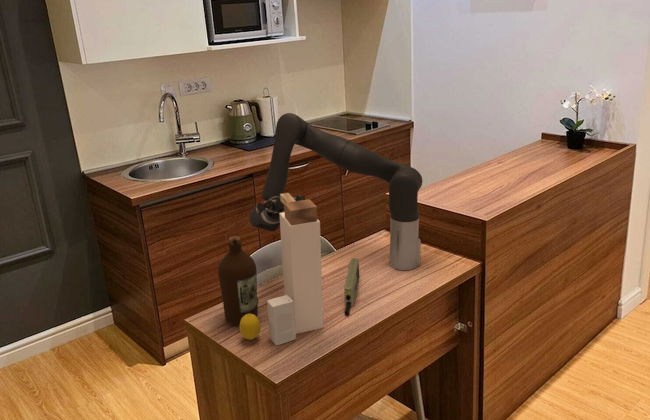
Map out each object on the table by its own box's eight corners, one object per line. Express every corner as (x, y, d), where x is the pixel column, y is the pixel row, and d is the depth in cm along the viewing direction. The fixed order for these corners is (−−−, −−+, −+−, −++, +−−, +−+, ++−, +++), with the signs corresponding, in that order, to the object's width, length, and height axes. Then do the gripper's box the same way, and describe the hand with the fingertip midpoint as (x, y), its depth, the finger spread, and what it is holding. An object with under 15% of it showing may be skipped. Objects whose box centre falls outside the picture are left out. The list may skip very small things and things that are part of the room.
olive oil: (215, 318, 166) (206, 239, 157) (243, 303, 174) (236, 227, 165) (240, 331, 160) (232, 250, 151) (267, 315, 167) (262, 236, 158)
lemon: (244, 347, 153) (241, 321, 150) (238, 336, 158) (235, 311, 155) (264, 342, 155) (262, 316, 152) (257, 331, 160) (255, 306, 157)
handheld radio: (360, 276, 188) (352, 317, 165) (350, 276, 189) (341, 317, 166) (359, 257, 186) (351, 297, 163) (349, 257, 187) (340, 296, 164)
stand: (311, 310, 169) (307, 208, 158) (323, 327, 160) (319, 221, 149) (285, 315, 167) (279, 212, 155) (295, 333, 158) (290, 226, 146)
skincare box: (289, 332, 159) (287, 293, 155) (296, 339, 156) (294, 301, 151) (269, 338, 156) (266, 299, 152) (275, 346, 153) (272, 307, 148)
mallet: (296, 198, 165) (295, 185, 164) (317, 221, 149) (316, 206, 148) (272, 201, 163) (271, 188, 162) (291, 225, 147) (290, 210, 145)
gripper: (249, 201, 176) (258, 191, 161) (294, 195, 181) (307, 184, 165) (254, 225, 175) (263, 217, 160) (299, 218, 180) (312, 209, 164)
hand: (285, 200), depth 163 cm, fingers open, 8 cm apart
